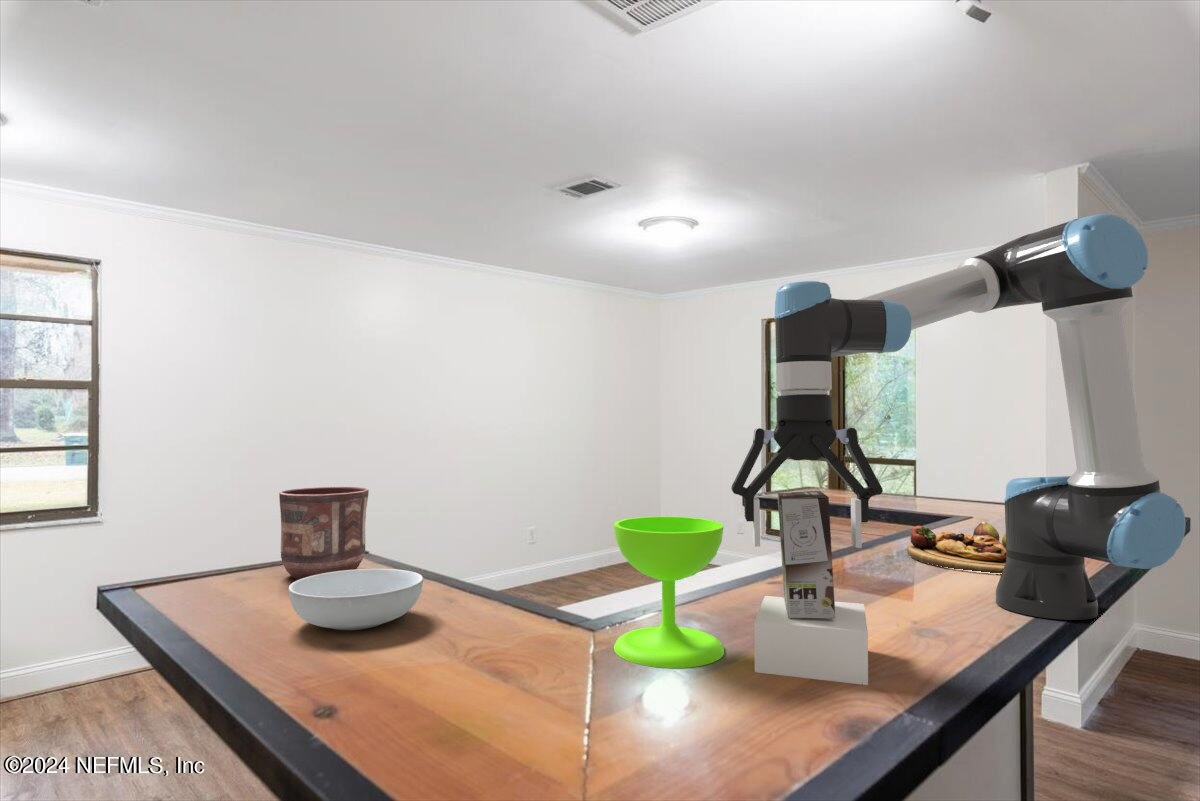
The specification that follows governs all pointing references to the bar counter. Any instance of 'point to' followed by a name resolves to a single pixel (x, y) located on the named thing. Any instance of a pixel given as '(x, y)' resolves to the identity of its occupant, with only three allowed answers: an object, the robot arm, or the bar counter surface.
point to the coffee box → (806, 554)
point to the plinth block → (812, 643)
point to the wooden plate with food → (960, 549)
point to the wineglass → (668, 586)
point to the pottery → (322, 529)
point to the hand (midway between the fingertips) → (806, 545)
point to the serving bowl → (355, 597)
